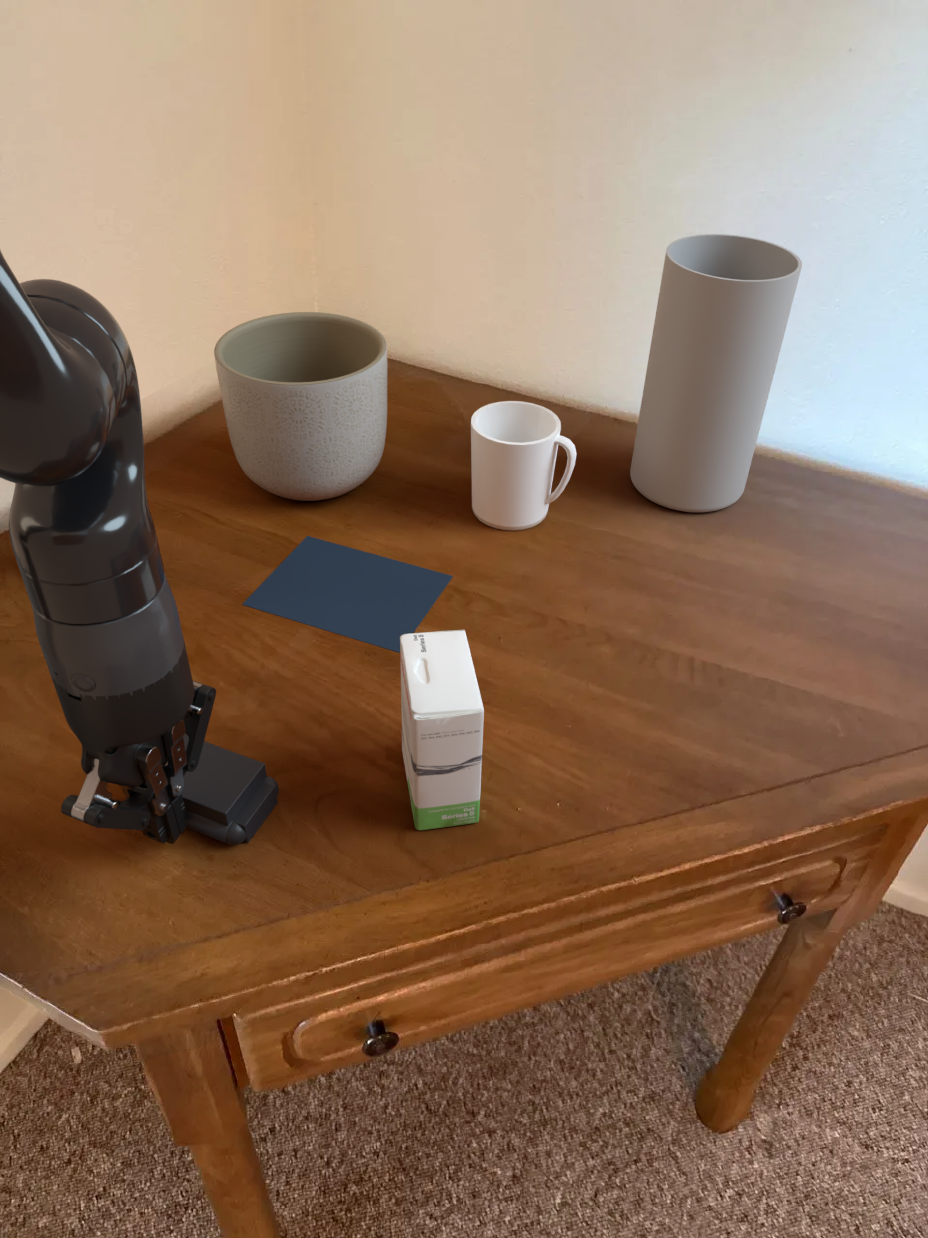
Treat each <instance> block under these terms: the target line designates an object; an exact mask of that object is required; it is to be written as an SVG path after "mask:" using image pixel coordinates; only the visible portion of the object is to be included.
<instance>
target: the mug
mask: <svg viewBox="0 0 928 1238" xmlns="http://www.w3.org/2000/svg"><path fill="white" fill-rule="evenodd" d="M470 419H471V420H470V456H471V457H470V460H471V461H470V462H471V463H470V464H471V466H470V467H471V469H470V470H471V510H472V512H473V515H474V516H475V517H476V518H477V520H479V521H480V522H481V523H483V524H484V525H486V526H487V527H491V528H493V529H497V530H500V531H501V530H502V531H514V532H515V531H523V530H528V529H531V528H534V527H536V526H537V525H539V524H540V523H542V521H544V520H545V519H546V517H547V515H548V512H549V507H550V504H551V503H552V502H554V501H556V500H557V499H558V498H559V497H560V495H561V494H562V493H563V492H564V491H565V488H566V487H567V485H568V483H569V481H570V479H571V477H572V474H573V471H574V468H575V466H576V461H577V453H578V452H577V449H576V445H575V444H574V443H573V441H572V440H571V439H570V438H568V437H566V436H564V435H561V431H562V423H561V420H560V418H559V416H558V415H557V414H556V413H555V412H553V411H552V410H551V409H549V408H547V407H544V406H543V405H540V404H536V403H533V402H527V401H520V400H504V401H497V402H491V403H488V404H486V405H483V406H481V407H480V408H478V409H476V411H474V413H473V414H472V416H471V417H470ZM559 447H562V448H563V450H565V452H566V457H567V460H566V466H565V470H564V471H563V475H562V477H561V479H560V481H559V484H558V486H557V487H556V488H555V489H554V490H553V491H552V488H553V487H552V486H553V481H554V475H555V469H556V468H555V467H556V461H557V457H558V450H559Z"/></svg>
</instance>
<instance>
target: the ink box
mask: <svg viewBox="0 0 928 1238" xmlns="http://www.w3.org/2000/svg"><path fill="white" fill-rule="evenodd" d="M399 654H400V696H401V697H400V698H401V699H400V700H401V703H400V705H401V751H402V758H403V764H404V772H405V776H406V784H407V788H408V795H409V801H410V807H411V812H412V818H413V825H414V828H415V830H417V831H426V830H433V829H434V830H435V829H440V828H441V829H442V828H448V827H456V826H463V825H471V824H477V823H479V821H480V810H481V809H480V807H481V790H482V765H483V764H482V763H483V746H484V745H483V744H484V743H483V742H484V722H485V720H484V719H485V709H484V704H483V700H482V695H481V691H480V687H479V682H478V679H477V673H476V670H475V666H474V661H473V658H472V653H471V649H470V644H469V640H468V637H467V634H466V630H465V629H456V630H438V631H428V632H427V631H426V632H414V633H411V634H403V635H402V636H400V653H399Z"/></svg>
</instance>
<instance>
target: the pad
mask: <svg viewBox="0 0 928 1238" xmlns="http://www.w3.org/2000/svg"><path fill="white" fill-rule="evenodd" d="M453 577H454V576H453V575H452V574H447V573H444V572H440V571H436V570H433V569H429V568H425V567H422V566H418V565H415V564H411V563H408V562H404V561H400V560H397V559H393V558H389V557H385V556H382V555H379V554H375V553H371V552H367V551H364V550H361V549H356V548H353V547H350V546H345V545H342V544H338V543H335V542H331V541H328V540H324V539H320V538H317V537H313V536H310V535H306V537H304V539H303V540H302V541H301V542H300V543H299V544H298V545H297V546H296V547H295V548H294V549H293V550H292V551H291V552H290V553H289V554H288V556H287V557H286V558H284V560H283V561H282V562H281V563H280V564H279V565H278V566H277V567H276V568H275V569H274V570H273V571H272V572H271V573H270V574H269V575H268V576H267V578H265V579H264V581H263V582H262V583H261V584H260V585H259V586H258V587H257V588H255V590H254V591H253V593H251V594H250V595H249V596H248V598H247V599H246V600H244V602H242V603H241V605H242V606H245V607H248V608H251V609H255V610H258V611H261V612H264V613H268V614H271V615H274V616H278V617H280V618H284V619H287V620H291V621H293V622H297V623H300V624H304V625H307V626H310V627H314V628H316V629H319V630H323V631H327V632H329V633H333V634H335V635H339V636H343V637H345V638H350V639H353V640H356V641H360V642H362V643H366V644H368V645H371V646H376V647H379V648H381V649H386V650H388V651H392V652H395V653H397V654H400V636H402V635H403V634H411V633H415V632H416V630H417V629H418V628H419V626H420V625H421V623H422V621H423V620H424V619H425V617H426V616H427V614H428V613H429V612H430V610H431V609H432V607H433V606H434V604H435V603H436V602H437V600H438V599H439V597H440V596H441V594H442V593H443V591H444V590H445V588H446V587H447V586H448V584H449V583H450V581H451V580H452V579H453Z"/></svg>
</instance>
